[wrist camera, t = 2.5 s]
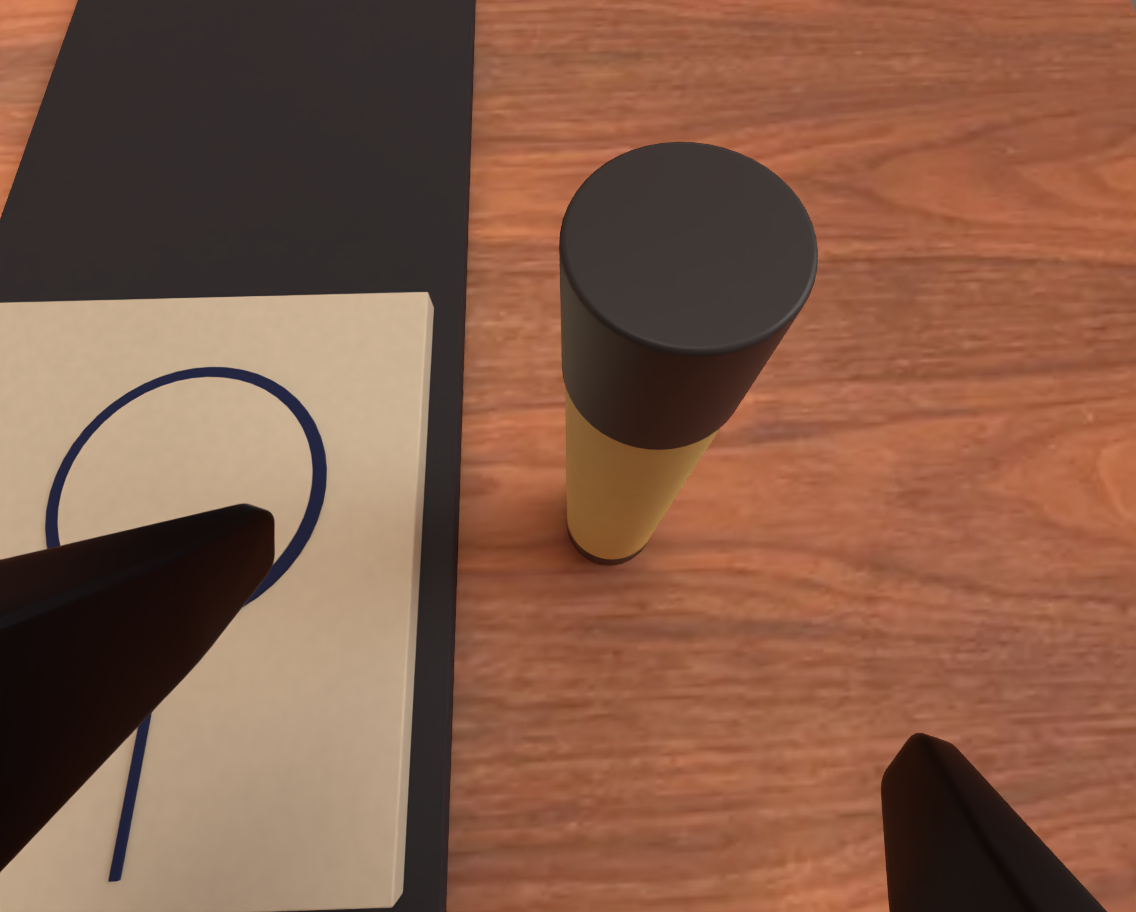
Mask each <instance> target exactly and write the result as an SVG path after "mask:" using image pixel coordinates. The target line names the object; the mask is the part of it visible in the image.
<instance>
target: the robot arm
mask: <svg viewBox="0 0 1136 912" xmlns="http://www.w3.org/2000/svg"><path fill="white" fill-rule="evenodd" d="M274 558H275V520H274V516H273V514H272V513H271V512H270V511H268V510H266V509H263V508H260V507H257V506H254V505H251V504H246V503H241V504H236V505H232V506H228V507H224V508H219V509H215V510H211V511H207V512H202V513H198V514H194V515H189V516H185V517H181V518H177V519H172V520H168V521H164V522H159V523H155V524H151V525H147V526H142V527H138V528H134V529H129V530H125V531H121V532H117V533H112V534H108V535H104V536H100V537H95V538H91V539H87V540H82V541H78V542H74V543H70V544H65V545H61V546H57V547H52V548H48V549H44V550H40V551H35V552H31V553H27V554H22V555H18V556H14V557H10V558H5V559H1V560H0V872H1V871H2V870H3V869H4V868H5V867H6V866H7V865H8V864H9V863H10V862H11V861H12V860H13V859H14V858H15V856H16V855H17V854H18V853H19V852H20V851H21V850H22V849H23V848H24V847H25V846H26V845H27V844H28V843H29V842H30V841H31V840H32V838H33V837H34V836H35V835H36V834H37V833H38V832H39V831H40V830H41V829H42V828H43V827H44V826H45V825H46V824H47V823H48V822H49V821H50V819H51V818H52V817H53V816H54V815H55V814H56V813H57V812H58V811H59V810H60V809H61V808H62V807H63V806H64V805H65V804H66V803H67V802H68V800H69V799H70V798H71V797H72V796H73V795H74V794H75V793H76V792H77V791H78V790H79V789H80V788H81V787H82V786H83V785H84V784H85V782H86V781H87V780H88V779H89V778H90V777H91V776H92V775H93V774H94V773H95V772H96V771H97V770H98V769H99V768H100V767H101V766H102V765H103V763H104V762H105V761H106V760H107V759H108V758H109V757H110V756H111V755H112V754H113V753H114V752H115V751H116V750H117V749H118V748H119V747H120V746H121V744H122V743H123V742H124V741H125V740H126V739H127V738H128V737H129V736H130V735H131V734H132V733H133V732H134V731H135V730H136V729H137V728H138V726H139V725H140V724H141V723H142V722H143V721H144V720H145V719H146V718H147V717H148V716H149V715H150V714H151V713H152V712H153V711H154V710H155V709H156V707H157V706H158V705H159V704H160V703H161V702H162V701H163V700H164V699H165V698H166V697H167V696H168V695H169V694H170V693H171V692H172V691H173V690H174V688H175V687H176V686H177V685H178V684H179V683H180V682H181V681H182V680H183V679H184V678H185V677H186V676H187V675H188V674H189V672H190V671H191V670H192V669H193V668H194V667H195V666H196V665H197V664H198V663H199V661H200V660H201V659H202V658H203V657H204V655H205V654H206V653H207V652H208V651H209V649H210V648H211V647H212V646H213V644H214V643H215V642H216V641H217V639H218V638H219V637H220V635H221V634H222V633H223V632H224V630H225V629H226V628H227V626H228V625H229V624H230V623H231V621H232V620H233V619H234V617H235V616H236V615H237V614H238V612H239V611H240V610H241V608H242V607H243V606H244V605H245V603H246V602H247V601H248V599H249V598H250V597H251V596H252V594H253V593H254V592H255V590H256V589H257V588H258V587H259V585H260V584H261V583H262V581H263V580H264V579H265V578H266V576H267V575H268V573H269V572H270V570H271V568H272V566H273V563H274ZM881 800H882V814H883V828H884V843H885V857H886V872H887V886H888V900H889V910H890V912H1107V911H1106V910H1105V909H1104V908H1103V907H1102V906H1101V905H1100V904H1099V902H1098V901H1097V900H1096V899H1095V898H1094V897H1093V896H1092V895H1091V894H1090V893H1089V892H1088V890H1087V889H1086V888H1085V887H1084V886H1083V885H1082V884H1081V883H1080V882H1079V881H1078V880H1077V878H1076V877H1075V876H1074V875H1073V874H1072V873H1071V872H1070V871H1069V870H1068V869H1067V868H1066V867H1065V865H1064V864H1063V863H1062V862H1061V861H1060V860H1059V859H1058V858H1057V857H1056V856H1055V855H1054V853H1053V852H1052V851H1051V850H1050V849H1049V848H1048V847H1047V846H1046V845H1045V844H1044V843H1043V841H1042V840H1041V839H1040V838H1039V837H1038V836H1037V835H1036V834H1035V833H1034V832H1033V831H1032V829H1031V828H1030V827H1029V826H1028V825H1027V824H1026V823H1025V822H1024V821H1023V820H1022V819H1021V817H1020V816H1019V815H1018V814H1017V813H1016V812H1015V811H1014V810H1013V809H1012V808H1011V807H1010V805H1009V804H1008V803H1007V802H1006V801H1005V800H1004V799H1003V798H1002V797H1001V796H1000V795H999V793H998V792H997V791H996V790H995V789H994V788H993V787H992V786H991V785H990V784H989V783H988V781H987V780H986V779H985V778H984V777H983V776H982V775H981V774H980V773H979V772H978V771H977V770H976V768H975V767H974V766H973V765H972V764H971V763H970V762H969V761H968V760H967V759H966V758H965V756H964V755H963V754H962V753H961V752H960V751H959V750H958V749H957V748H956V747H955V746H954V745H953V744H951V743H949V742H947V741H944V740H941V739H938V738H936V737H933V736H930V735H927V734H924V733H916V734H914V735H912V736H911V737H910V738H909V739H908V740H907V742H906V743H905V744H904V746H903V747H902V749H901V750H900V751H899V753H898V754H897V755H896V757H895V758H894V759H893V761H892V762H891V764H890V765H889V766H888V768H887V769H886V771H885V773H884V775H883V778H882V783H881Z"/></svg>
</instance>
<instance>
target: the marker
mask: <svg viewBox="0 0 1136 912" xmlns="http://www.w3.org/2000/svg"><path fill="white" fill-rule="evenodd" d="M559 252H560V298H561V344H562V371H563V378H564V382H565V397H566V486H567V529H568V533H569V536H570V539H571V541H572V543H573V545H574V546H575V547H576V549H577V550H578V551H579V552H580V553H581V554H582V555H584V556H585V557H586V558H588V559H590V560H592V561H594V562H597V563H600V564H608V565H613V564H619V563H623V562H626V561H628V560H630V559H632V558H633V557H635V556H636V555H637V554H638V553H639V552H641V550H642V549H643V548H644V546H645V545H646V543H647V542H648V540H649V539H650V537H651V536H652V534H653V532H654V531H655V529H656V528H657V526H658V525H659V523H660V521H661V520H662V518H663V517H664V515H665V514H666V512H667V510H668V509H669V507H670V506H671V504H672V503H673V501H674V499H675V498H676V496H677V495H678V493H679V492H680V490H681V488H682V487H683V485H684V484H685V482H686V481H687V479H688V477H689V476H690V474H691V473H692V471H693V470H694V468H695V467H696V465H697V463H698V462H699V460H700V459H701V457H702V456H703V454H704V452H705V451H706V449H707V448H708V446H709V445H710V443H711V441H712V440H713V438H714V437H715V435H716V434H717V432H718V430H719V429H720V427H722V426H723V425H724V424H725V423H726V422H727V421H728V419H729V418H730V417H731V416H732V414H733V413H734V412H735V410H736V409H737V407H738V405H739V404H740V402H741V401H742V399H743V398H744V396H745V395H746V393H747V392H748V390H749V389H750V387H751V386H752V384H753V382H754V381H755V379H756V378H757V376H758V375H759V373H760V372H761V370H762V369H763V367H764V366H765V364H766V363H767V361H768V360H769V358H770V356H771V355H772V353H773V352H774V350H775V349H776V347H777V346H778V344H779V343H780V341H781V340H782V338H783V337H784V335H785V333H786V332H787V330H788V329H789V327H790V326H791V324H792V323H793V321H794V320H795V318H796V317H797V315H798V314H799V312H800V311H801V309H802V307H803V306H804V304H805V302H806V300H807V299H808V297H809V295H810V293H811V290H812V287H813V285H814V282H815V277H816V272H817V261H818V249H817V241H816V235H815V232H814V228H813V225H812V222H811V220H810V217H809V215H808V213H807V211H806V209H805V207H804V206H803V204H802V203H801V201H800V199H799V198H798V197H797V195H796V194H795V193H794V192H793V191H792V189H791V188H790V187H789V186H788V185H787V184H786V183H785V182H784V181H783V180H782V179H781V178H780V177H779V176H777V175H776V174H775V173H773V172H772V171H771V170H769V169H768V168H767V167H765V166H763V165H762V164H760V163H758V162H757V161H755V160H753V159H751V158H749V157H747V156H745V155H742V154H740V153H738V152H735V151H732V150H729V149H726V148H722V147H718V146H714V145H709V144H702V143H694V142H670V143H660V144H654V145H648V146H644V147H641V148H638V149H634V150H631V151H629V152H627V153H624V154H622V155H619V156H617V157H616V158H614V159H612V160H610V161H609V162H607V163H605V164H604V165H603V166H601V167H600V168H599V169H597V170H596V171H595V172H594V173H593V174H592V175H591V176H589V177H588V178H587V179H586V180H585V181H584V183H583V184H582V185H581V187H580V188H579V189H578V190H577V192H576V193H575V195H574V197H573V198H572V200H571V202H570V204H569V205H568V207H567V210H566V213H565V215H564V218H563V221H562V226H561V231H560V244H559Z"/></svg>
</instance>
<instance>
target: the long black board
mask: <svg viewBox="0 0 1136 912" xmlns="http://www.w3.org/2000/svg"><path fill="white" fill-rule="evenodd" d="M475 1H476V0H78V2H77V5H76V7H75V10H74V13H73V16H72V19H71V22H70V24H69V27H68V30H67V33H66V36H65V38H64V41H63V44H62V47H61V50H60V53H59V55H58V58H57V61H56V64H55V67H54V69H53V72H52V75H51V78H50V81H49V83H48V86H47V89H46V92H45V95H44V98H43V100H42V103H41V106H40V109H39V112H38V114H37V117H36V120H35V123H34V126H33V129H32V131H31V134H30V137H29V140H28V143H27V145H26V148H25V151H24V154H23V157H22V160H21V162H20V165H19V168H18V171H17V174H16V176H15V179H14V182H13V185H12V188H11V191H10V193H9V196H8V199H7V202H6V205H5V207H4V210H3V213H2V216H1V219H0V560H1V559H5V558H10V557H14V556H18V555H22V554H27V553H31V552H35V551H40V550H44V549H48V548H52V547H57V546H61V545H65V544H70V543H74V542H78V541H82V540H87V539H91V538H95V537H100V536H104V535H108V534H112V533H117V532H121V531H125V530H129V529H134V528H138V527H142V526H147V525H151V524H155V523H159V522H164V521H168V520H172V519H177V518H181V517H185V516H189V515H194V514H198V513H202V512H207V511H211V510H215V509H219V508H224V507H228V506H232V505H236V504H241V503H246V504H251V505H254V506H257V507H260V508H263V509H266V510H268V511H270V512H271V513H272V514H273V516H274V520H275V558H274V563H273V566H272V568H271V570H270V572H269V573H268V575H267V576H266V578H265V579H264V580H263V581H262V583H261V584H260V585H259V587H258V588H257V589H256V590H255V592H254V593H253V594H252V596H251V597H250V598H249V599H248V601H247V602H246V603H245V605H244V606H243V607H242V608H241V610H240V611H239V612H238V614H237V615H236V616H235V617H234V619H233V620H232V621H231V623H230V624H229V625H228V626H227V628H226V629H225V630H224V632H223V633H222V634H221V635H220V637H219V638H218V639H217V641H216V642H215V643H214V644H213V646H212V647H211V648H210V649H209V651H208V652H207V653H206V654H205V655H204V657H203V658H202V659H201V660H200V661H199V663H198V664H197V665H196V666H195V667H194V668H193V669H192V670H191V671H190V672H189V674H188V675H187V676H186V677H185V678H184V679H183V680H182V681H181V682H180V683H179V684H178V685H177V686H176V687H175V688H174V690H173V691H172V692H171V693H170V694H169V695H168V696H167V697H166V698H165V699H164V700H163V701H162V702H161V703H160V704H159V705H158V706H157V707H156V709H155V710H154V711H153V712H152V713H151V714H150V715H149V716H148V717H147V718H146V719H145V720H144V721H143V722H142V723H141V724H140V725H139V726H138V728H137V729H136V730H135V731H134V732H133V733H132V734H131V735H130V736H129V737H128V738H127V739H126V740H125V741H124V742H123V743H122V744H121V746H120V747H119V748H118V749H117V750H116V751H115V752H114V753H113V754H112V755H111V756H110V757H109V758H108V759H107V760H106V761H105V762H104V763H103V765H102V766H101V767H100V768H99V769H98V770H97V771H96V772H95V773H94V774H93V775H92V776H91V777H90V778H89V779H88V780H87V781H86V782H85V784H84V785H83V786H82V787H81V788H80V789H79V790H78V791H77V792H76V793H75V794H74V795H73V796H72V797H71V798H70V799H69V800H68V802H67V803H66V804H65V805H64V806H63V807H62V808H61V809H60V810H59V811H58V812H57V813H56V814H55V815H54V816H53V817H52V818H51V819H50V821H49V822H48V823H47V824H46V825H45V826H44V827H43V828H42V829H41V830H40V831H39V832H38V833H37V834H36V835H35V836H34V837H33V838H32V840H31V841H30V842H29V843H28V844H27V845H26V846H25V847H24V848H23V849H22V850H21V851H20V852H19V853H18V854H17V855H16V856H15V858H14V859H13V860H12V861H11V862H10V863H9V864H8V865H7V866H6V867H5V868H4V869H3V870H2V871H1V872H0V912H446V894H447V863H448V832H449V801H450V770H451V740H452V709H453V678H454V647H455V616H456V586H457V555H458V524H459V493H460V463H461V432H462V401H463V370H464V339H465V309H466V278H467V247H468V216H469V185H470V155H471V124H472V93H473V62H474V31H475Z"/></svg>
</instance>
